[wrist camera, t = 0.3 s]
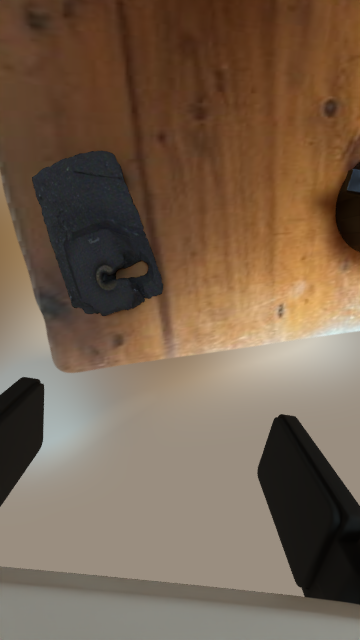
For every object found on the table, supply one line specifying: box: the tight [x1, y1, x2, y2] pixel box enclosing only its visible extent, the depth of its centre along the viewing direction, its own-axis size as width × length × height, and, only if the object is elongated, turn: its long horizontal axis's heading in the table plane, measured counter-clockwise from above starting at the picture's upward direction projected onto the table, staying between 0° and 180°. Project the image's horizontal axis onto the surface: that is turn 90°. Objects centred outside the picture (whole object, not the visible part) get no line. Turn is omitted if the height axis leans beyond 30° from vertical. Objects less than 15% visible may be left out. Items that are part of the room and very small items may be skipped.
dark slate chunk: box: [32, 151, 163, 316], centre depth 35 cm, size 15×22×5 cm
